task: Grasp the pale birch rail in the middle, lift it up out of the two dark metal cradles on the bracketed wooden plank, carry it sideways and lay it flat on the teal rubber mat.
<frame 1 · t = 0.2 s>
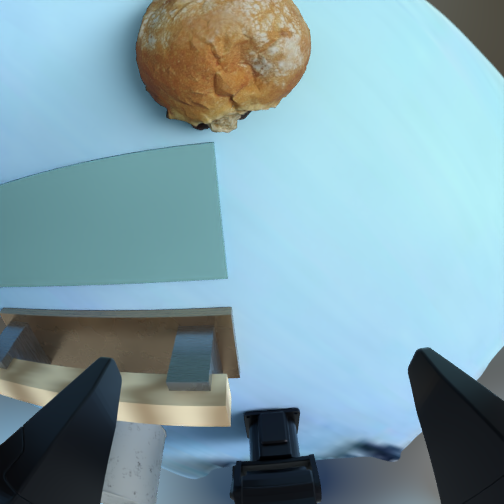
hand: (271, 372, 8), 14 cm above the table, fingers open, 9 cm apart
rail: (88, 379, 22), point 5 cm above the table, touching bracketed wooden plank
bracketed wooden plank: (105, 342, 27), on the table
grey stone cylinder: (133, 425, 35), on the table
bread roll: (223, 53, 16), on the table
mat: (63, 230, 21), on the table
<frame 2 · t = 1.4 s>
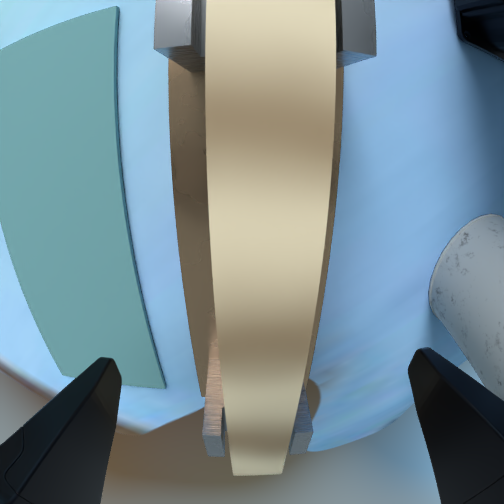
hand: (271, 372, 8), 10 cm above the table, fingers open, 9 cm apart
rail: (259, 285, 12), point 5 cm above the table, touching bracketed wooden plank
bracketed wooden plank: (254, 234, 17), on the table
grey stone cylinder: (475, 270, 19), on the table
mat: (60, 238, 16), on the table
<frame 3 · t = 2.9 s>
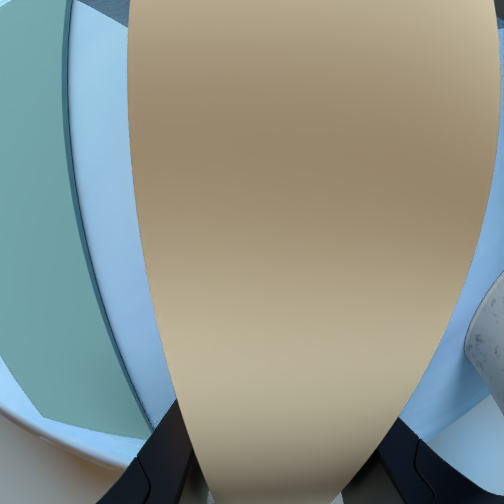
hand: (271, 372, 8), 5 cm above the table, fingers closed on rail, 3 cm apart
rail: (272, 386, 7), point 5 cm above the table, touching gripper, bracketed wooden plank
bracketed wooden plank: (261, 284, 12), on the table
mat: (17, 279, 12), on the table
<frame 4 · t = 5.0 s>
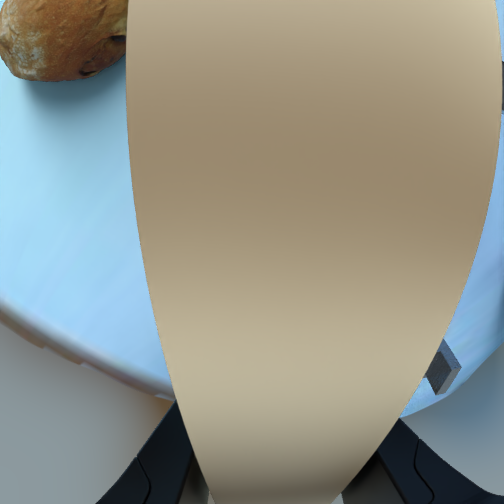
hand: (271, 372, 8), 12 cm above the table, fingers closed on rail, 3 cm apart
rail: (272, 388, 7), point 13 cm above the table, touching gripper
bracketed wooden plank: (422, 216, 19), on the table
bread roll: (88, 15, 12), on the table
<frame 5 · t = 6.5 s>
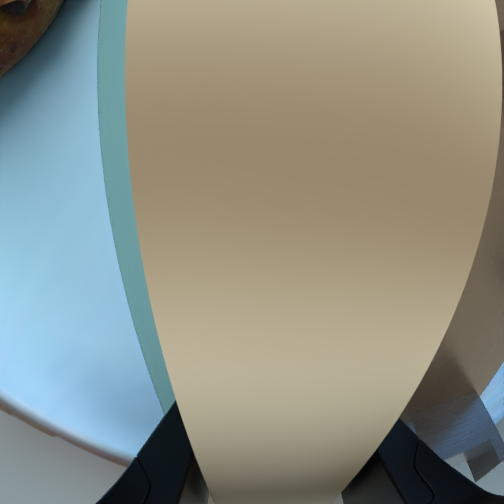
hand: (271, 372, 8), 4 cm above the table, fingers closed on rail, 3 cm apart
rail: (272, 388, 7), point 4 cm above the table, touching gripper
bracketed wooden plank: (495, 282, 12), on the table
mat: (260, 297, 11), on the table
when the fingers open (2 cm above the table, at t = 7.4 s): rail drops 3 cm, resting on mat.
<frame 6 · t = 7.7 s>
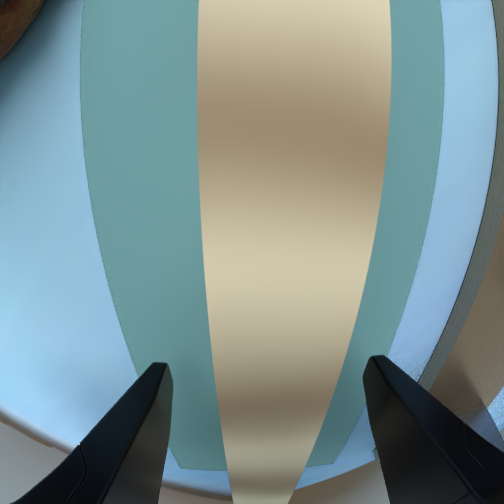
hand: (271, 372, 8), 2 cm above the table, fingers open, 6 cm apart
rail: (268, 325, 10), resting on mat
mat: (264, 317, 10), on the table
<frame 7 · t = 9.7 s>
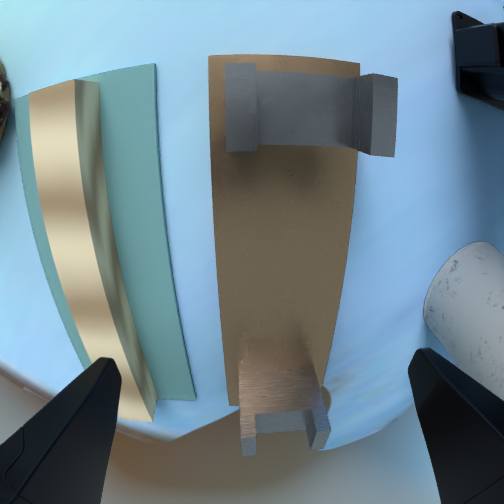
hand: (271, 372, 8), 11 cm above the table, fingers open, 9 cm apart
rail: (103, 278, 19), resting on mat
bracketed wooden plank: (280, 271, 20), on the table
grey stone cylinder: (464, 289, 22), on the table
mat: (103, 275, 19), on the table
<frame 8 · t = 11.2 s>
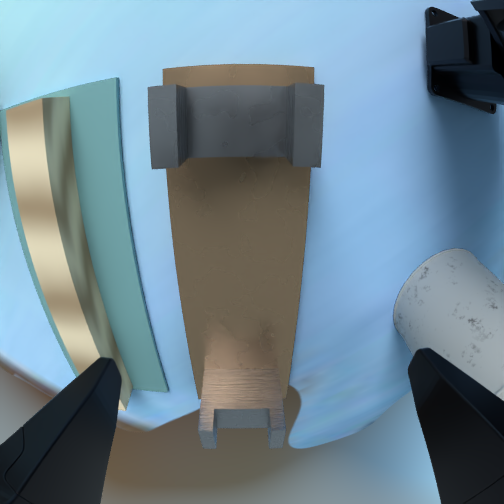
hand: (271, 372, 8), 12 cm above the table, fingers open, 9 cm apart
rail: (78, 275, 20), resting on mat
bracketed wooden plank: (239, 273, 20), on the table
grey stone cylinder: (439, 296, 22), on the table
mat: (79, 272, 20), on the table
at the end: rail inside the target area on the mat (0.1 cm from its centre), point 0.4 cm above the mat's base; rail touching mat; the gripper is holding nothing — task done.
